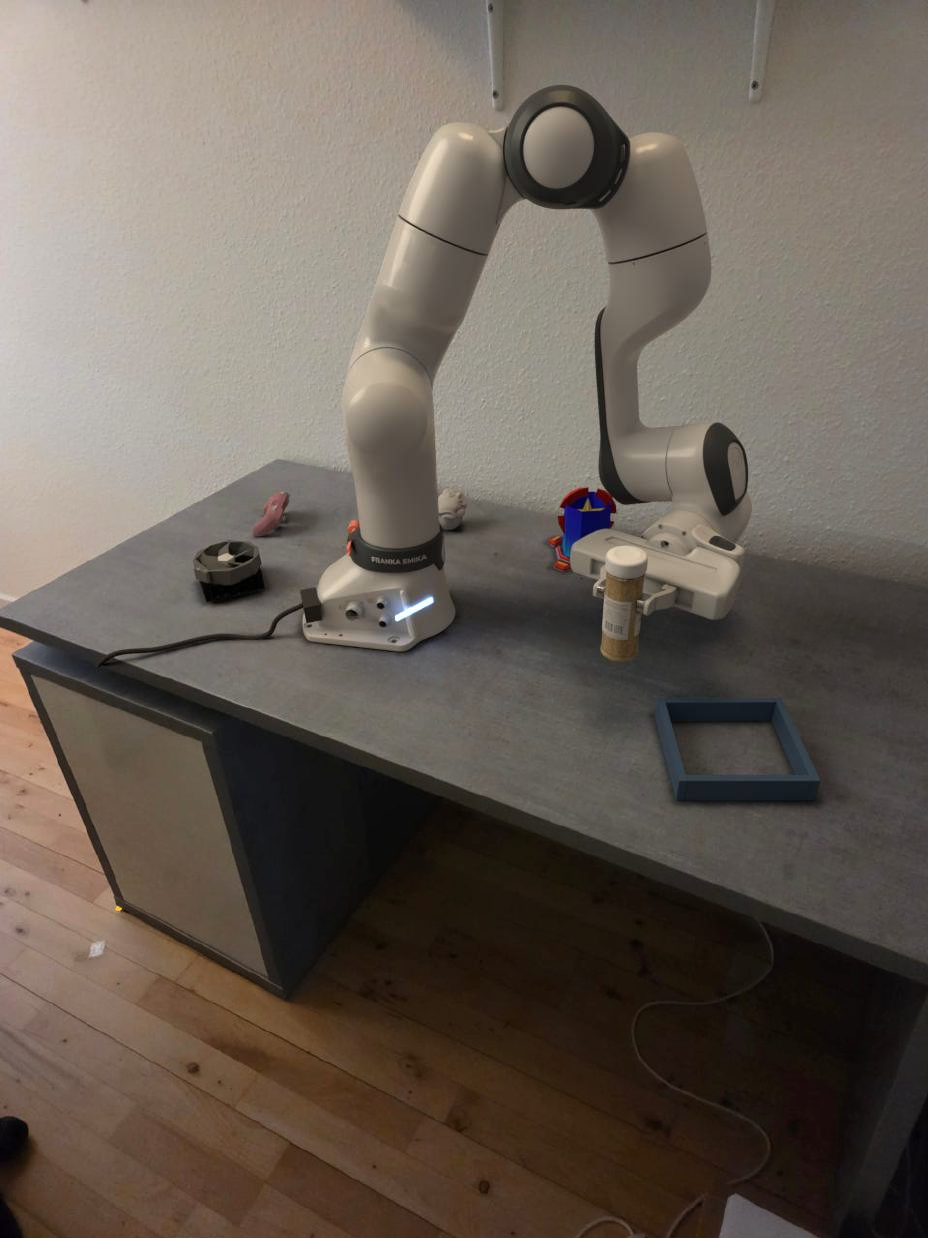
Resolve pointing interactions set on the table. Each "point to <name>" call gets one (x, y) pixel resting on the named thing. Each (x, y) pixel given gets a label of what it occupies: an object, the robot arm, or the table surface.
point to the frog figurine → (451, 508)
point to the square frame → (736, 785)
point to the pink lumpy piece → (272, 514)
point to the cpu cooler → (228, 570)
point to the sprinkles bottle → (622, 602)
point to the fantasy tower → (581, 521)
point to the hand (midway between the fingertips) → (619, 600)
